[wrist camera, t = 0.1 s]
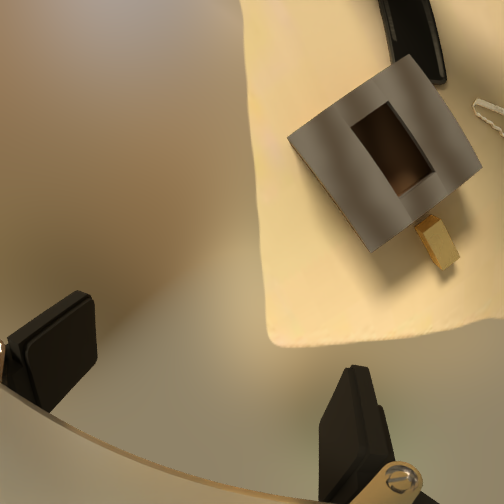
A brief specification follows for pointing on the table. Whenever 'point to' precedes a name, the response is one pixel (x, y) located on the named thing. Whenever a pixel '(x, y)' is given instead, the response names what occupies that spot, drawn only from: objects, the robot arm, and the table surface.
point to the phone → (414, 36)
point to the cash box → (387, 152)
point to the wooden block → (437, 242)
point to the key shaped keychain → (491, 107)
